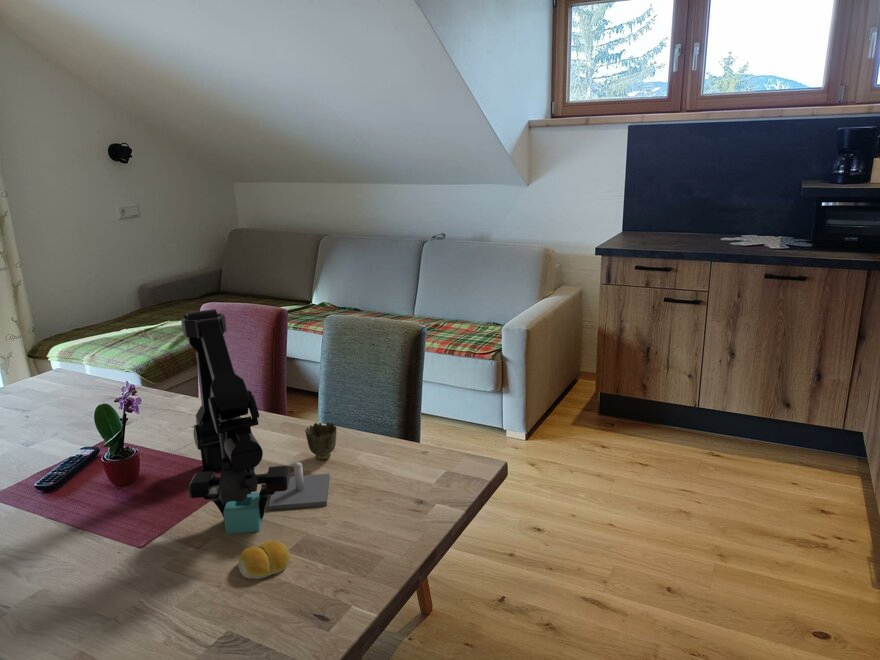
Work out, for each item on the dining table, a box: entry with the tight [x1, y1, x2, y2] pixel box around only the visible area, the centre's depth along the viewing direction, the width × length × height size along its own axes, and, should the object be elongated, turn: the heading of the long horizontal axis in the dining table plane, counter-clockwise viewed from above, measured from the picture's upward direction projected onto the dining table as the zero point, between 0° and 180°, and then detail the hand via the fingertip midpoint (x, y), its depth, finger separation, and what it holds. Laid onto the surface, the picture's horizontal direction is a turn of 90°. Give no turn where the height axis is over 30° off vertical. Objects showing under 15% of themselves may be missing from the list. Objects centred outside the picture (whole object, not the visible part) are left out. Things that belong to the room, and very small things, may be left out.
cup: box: [304, 422, 338, 462], centre depth 158 cm, size 8×7×8 cm
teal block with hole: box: [223, 491, 264, 535], centre depth 132 cm, size 6×6×5 cm
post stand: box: [268, 461, 330, 511], centre depth 142 cm, size 12×12×7 cm
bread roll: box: [237, 540, 291, 580], centre depth 119 cm, size 8×9×4 cm
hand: (245, 519), depth 132 cm, fingers closed on teal block with hole, 6 cm apart
